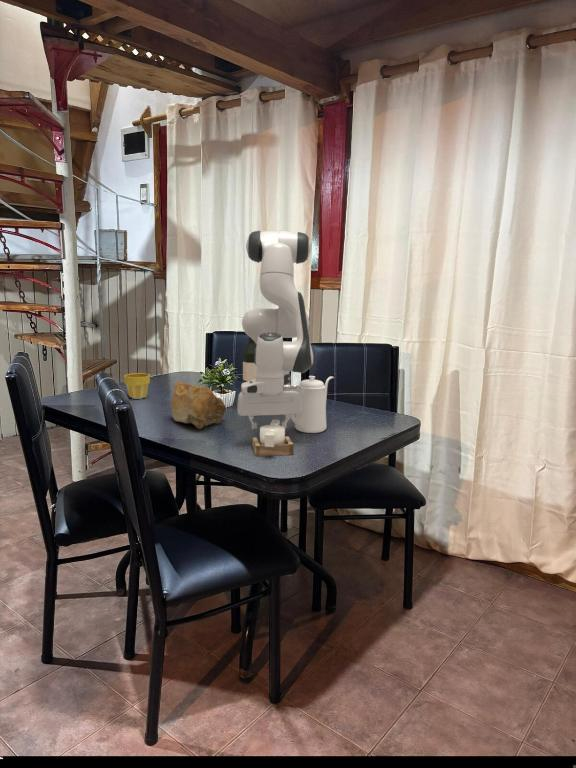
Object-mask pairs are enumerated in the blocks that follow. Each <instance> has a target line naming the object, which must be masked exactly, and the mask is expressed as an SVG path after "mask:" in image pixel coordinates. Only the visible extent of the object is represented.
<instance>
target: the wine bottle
mask: <svg viewBox="0 0 576 768" xmlns="http://www.w3.org/2000/svg"><path fill="white" fill-rule="evenodd" d="M247 337H248V342H247V345H246V347H245V349H244V350H243V352H242V383H245V382H248V381H251V380H254V379H256V372H257V366H256V365H255V363H254V350H255V348H256V347H257V344H256V343H255V342H254V340H253V339H252V338H251V337H249V336H247Z"/></svg>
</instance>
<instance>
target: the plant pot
mask: <svg viewBox="0 0 576 768" xmlns="http://www.w3.org/2000/svg"><path fill="white" fill-rule="evenodd" d="M123 379H124V384H125V385H126V389H127V393H128V397H129V396H130V397H132V398H141V397H146V398H147V395H148V390H149V384H150V383H151V375H150V373H143V372H137V373H134V372H133V373H126V374H125V375H124V377H123ZM130 397H129V398H130Z"/></svg>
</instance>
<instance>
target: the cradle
mask: <svg viewBox="0 0 576 768" xmlns="http://www.w3.org/2000/svg"><path fill="white" fill-rule="evenodd" d="M252 449H253V451H254V454H255V456H256V457H261V456H262V457H263V456H265V457H267V456H268V457H269V456H286V455H287V456H288V455H291V456H292V455H294V449H295V448H294V443H293V442H292V440H291V438H290V437H289V436H288V435H287V436H285V444H277V445H274V447H265V445H260V441H259V440H258V437H252Z"/></svg>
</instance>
